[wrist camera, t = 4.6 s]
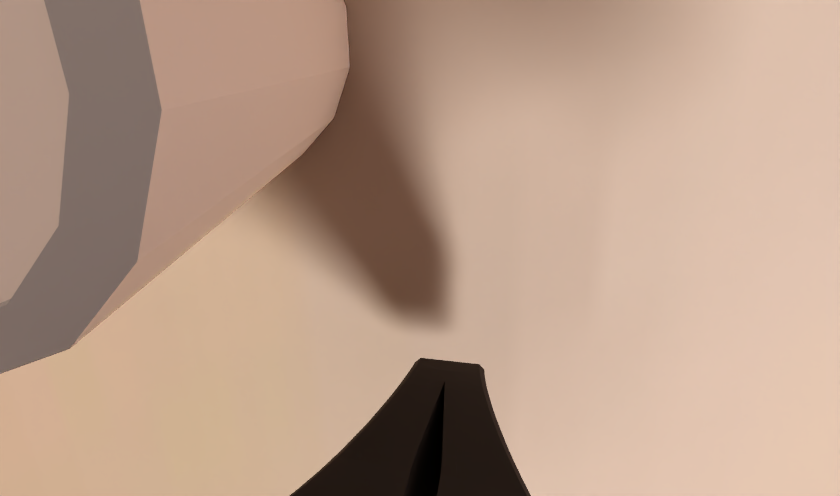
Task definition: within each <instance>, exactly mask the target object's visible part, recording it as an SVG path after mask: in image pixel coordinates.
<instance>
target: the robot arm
mask: <svg viewBox="0 0 840 496" xmlns="http://www.w3.org/2000/svg"><path fill="white" fill-rule="evenodd" d="M290 496H531V495H530V493H529V491H528V489H527V487H526V485H525V484H524V482H523V480H522V478H521V475H520V473H519V471H518V469H517V467H516V465H515V463H514V461H513V459H512V456H511V454H510V452H509V450H508V447H507V445H506V443H505V440H504V437H503V435H502V432H501V430H500V427H499V425H498V422H497V420H496V417H495V414H494V411H493V408H492V405H491V401H490V398H489V395H488V391H487V387H486V382H485V375H484V369H483V368H482V367H481V366H480V365H479V364H471V363H462V362H453V361H443V360H434V359H425V358H420V359H419V360H418V361H416V362H415V363H414V365H413V367H412V368H411V370H410V371H409V373H408V374H407V375H406V377H405V378H404V380H403V381H402V382H401V384H400V385H399V386H398V388H397V389H396V390H395V391H394V393H393V394H392V395H391V396H390V398H389V399H388V400H387V401H386V402H385V404H384V405H383V406H382V407H381V408H380V409H379V411H378V412H377V413H376V414H375V415H374V416H373V418H372V419H371V420H370V421H369V422H368V423H367V424H366V425H365V426H364V427H363V429H362V430H361V431H360V432H359V433H358V434H357V435H356V436H355V437H354V438H353V439H352V440H351V441H350V442H349V443H348V444H347V445H346V446H345V447H344V448H343V449H342V450H341V451H340V452H339V453H338V454H337V455H336V456H335V457H334V458H333V459H332V460H331V461H330V462H328V463H327V464H326V465H325V466H324V467H323V468H322V469H321V470H320V471H319V472H317V473H316V474H315V475H314V476H313V477H312V478H310V479H309V480H308V481H307V482H306V483H305V484H303V485H302V486H301V487H300V488H299V489H297V490H296V491H295V492H294V493H292V494H291V495H290Z"/></svg>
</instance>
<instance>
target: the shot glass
mask: <svg viewBox="0 0 840 496" xmlns="http://www.w3.org/2000/svg"><path fill="white" fill-rule="evenodd" d="M349 68H350V59H349V43H348V27H347V11H346V5H345V3H344V0H0V374H1V373H4V372H6V371H9V370H12V369H15V368H17V367H20V366H23V365H26V364H29V363H31V362H34V361H37V360H40V359H42V358H45V357H48V356H51V355H54V354H56V353H59V352H62V351H65V350H67V349H70V348H71V347H72V346H73V345H75V344H76V343H77V342H78V341H79V340H81V339H82V338H83V337H84V336H85V335H87V334H88V333H89V332H90V331H91V330H93V329H94V328H95V327H96V326H97V325H99V324H100V323H101V322H102V321H103V320H105V319H106V318H107V317H108V316H109V315H111V314H112V313H113V312H114V311H115V310H117V309H118V308H119V307H120V306H121V305H123V304H124V303H125V302H126V301H127V300H129V299H130V298H131V297H132V296H133V295H135V294H136V293H137V292H138V291H139V290H141V289H142V288H143V287H144V286H145V285H147V284H148V283H149V282H150V281H151V280H153V279H154V278H155V277H156V276H157V275H159V274H160V273H161V272H162V271H163V270H165V269H166V268H167V267H168V266H169V265H171V264H172V263H173V262H174V261H175V260H176V259H178V258H179V257H180V256H181V255H182V254H184V253H185V252H186V251H187V250H188V249H190V248H191V247H192V246H193V245H194V244H196V243H197V242H198V241H199V240H200V239H202V238H203V237H204V236H205V235H206V234H208V233H209V232H210V231H211V230H212V229H214V228H215V227H216V226H217V225H218V224H220V223H221V222H222V221H223V220H224V219H226V218H227V217H228V216H229V215H230V214H232V213H233V212H234V211H235V210H236V209H238V208H239V207H240V206H241V205H242V204H244V203H245V202H246V201H247V200H248V199H250V198H251V197H252V196H253V195H254V194H256V193H257V192H258V191H259V190H260V189H262V188H263V187H264V186H265V185H266V184H268V183H269V182H270V181H271V180H272V179H274V178H275V177H276V176H277V175H278V174H280V173H281V172H282V171H283V170H284V169H286V168H287V167H288V166H289V165H290V164H292V163H293V162H294V161H295V160H296V159H298V158H299V157H300V156H301V155H302V154H303V153H304V152H305V151H306V150H307V149H308V148H309V146H310V145H311V144H312V143H313V142H314V141H315V139H316V138H317V137H318V136H319V135H320V134H321V133H322V131H323V130H324V129H325V128H326V127H327V126H328V124H329V123H330V122H331V121H332V120H333V119H334V116H335V113H336V110H337V107H338V104H339V100H340V97H341V94H342V91H343V88H344V84H345V81H346V78H347V75H348V72H349Z"/></svg>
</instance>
